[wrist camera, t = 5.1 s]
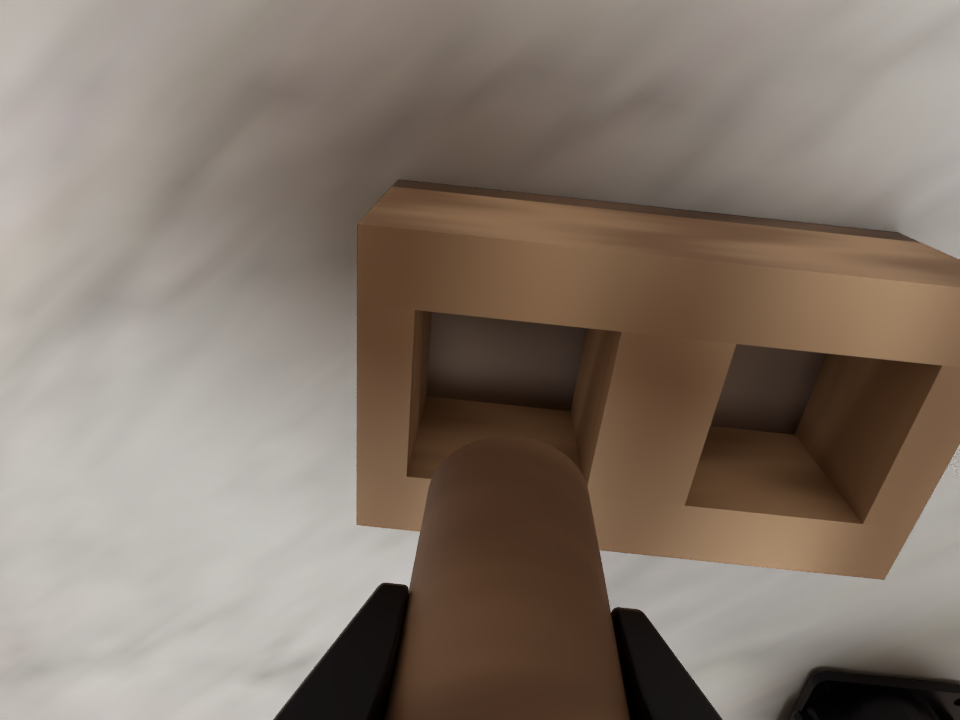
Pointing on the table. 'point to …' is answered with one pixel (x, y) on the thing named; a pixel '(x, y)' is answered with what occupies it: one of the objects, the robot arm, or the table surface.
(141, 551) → the table surface
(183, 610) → the table surface
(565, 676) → the dowel
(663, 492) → the bore block
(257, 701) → the table surface
